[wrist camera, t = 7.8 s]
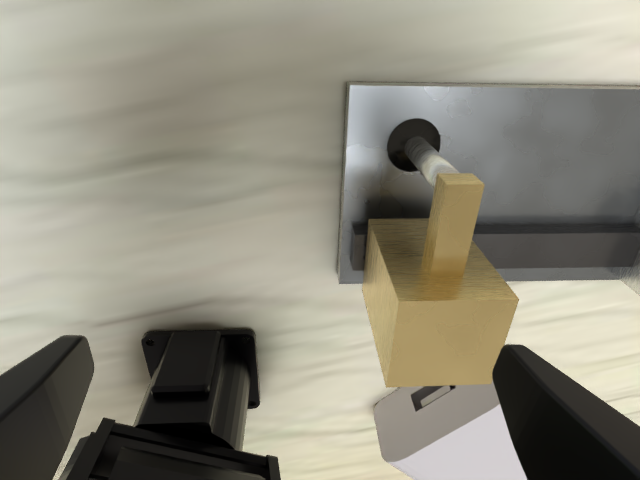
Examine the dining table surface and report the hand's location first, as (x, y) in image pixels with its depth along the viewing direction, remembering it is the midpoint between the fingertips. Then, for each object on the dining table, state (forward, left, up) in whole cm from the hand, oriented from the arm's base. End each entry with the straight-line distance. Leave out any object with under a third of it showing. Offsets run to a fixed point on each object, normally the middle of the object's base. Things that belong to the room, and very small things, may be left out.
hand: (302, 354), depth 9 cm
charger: (-19, -13, -12) cm, 27 cm away
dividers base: (-1, -12, -12) cm, 17 cm away
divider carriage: (-2, -5, -11) cm, 12 cm away
